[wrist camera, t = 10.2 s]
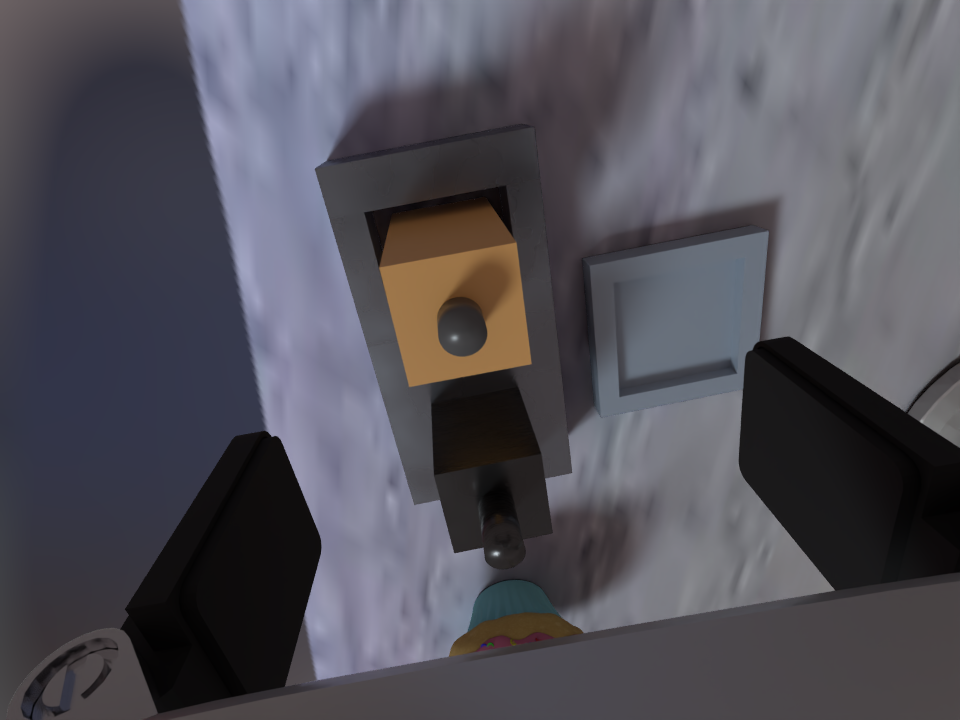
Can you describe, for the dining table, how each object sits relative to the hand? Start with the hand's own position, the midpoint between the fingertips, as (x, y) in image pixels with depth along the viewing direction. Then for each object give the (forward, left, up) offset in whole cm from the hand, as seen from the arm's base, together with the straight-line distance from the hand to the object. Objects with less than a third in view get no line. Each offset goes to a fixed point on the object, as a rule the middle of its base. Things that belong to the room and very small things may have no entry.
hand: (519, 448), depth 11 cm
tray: (-9, +5, -14) cm, 18 cm away
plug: (+1, 0, -14) cm, 14 cm away
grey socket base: (+1, +3, -14) cm, 15 cm away
